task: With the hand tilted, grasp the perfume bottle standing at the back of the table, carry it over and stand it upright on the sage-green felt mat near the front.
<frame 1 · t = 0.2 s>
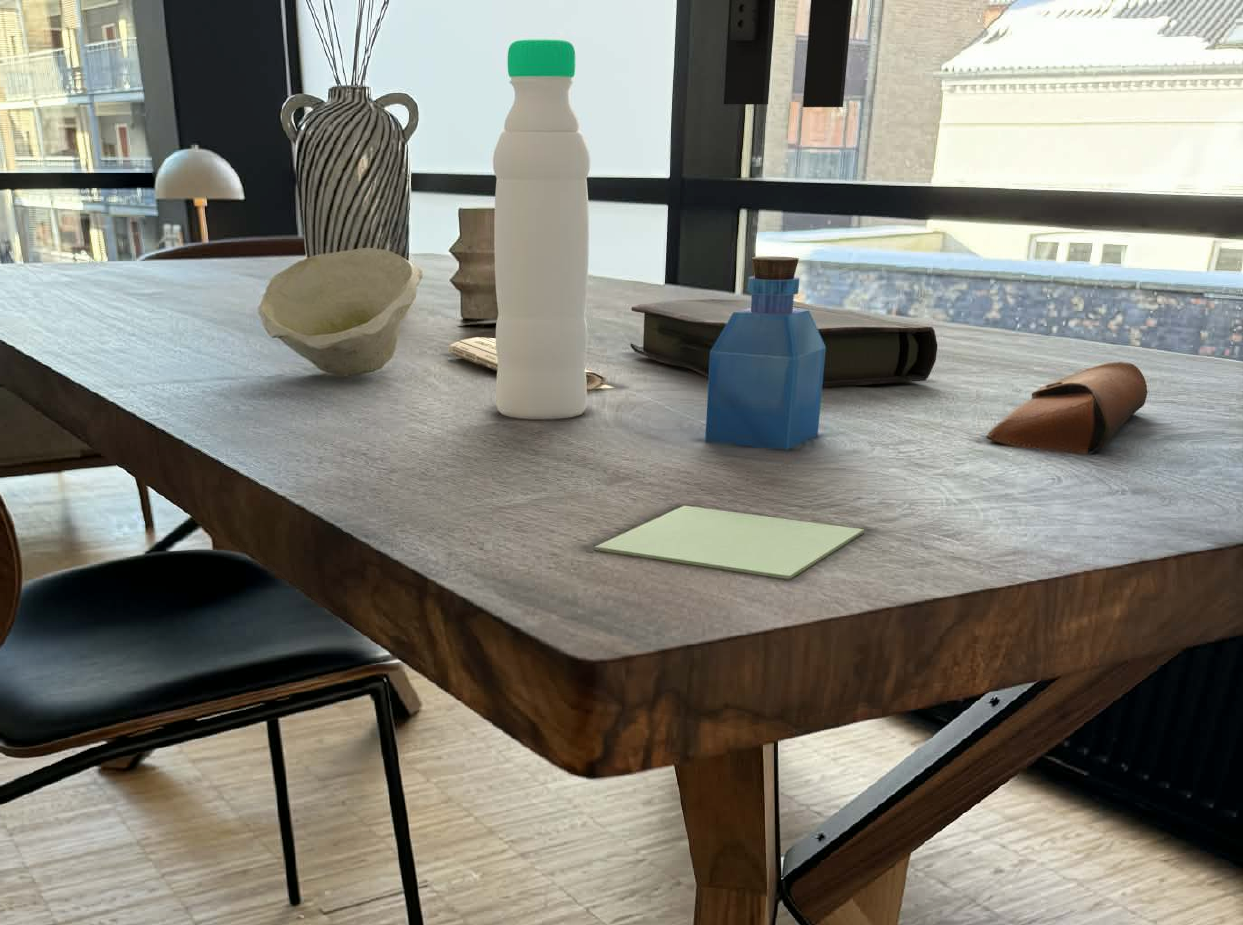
hand: (786, 107, 95), 21 cm above the table, tool pointing down, fingers open, 13 cm apart
sunglasses case: (1066, 435, 107), on the table
water bottle: (541, 417, 112), on the table
perfume bottle: (761, 444, 103), on the table
bowl: (345, 376, 130), on the table
newspaper: (527, 375, 131), on the table
diary: (769, 372, 134), on the table
mat: (731, 545, 77), on the table
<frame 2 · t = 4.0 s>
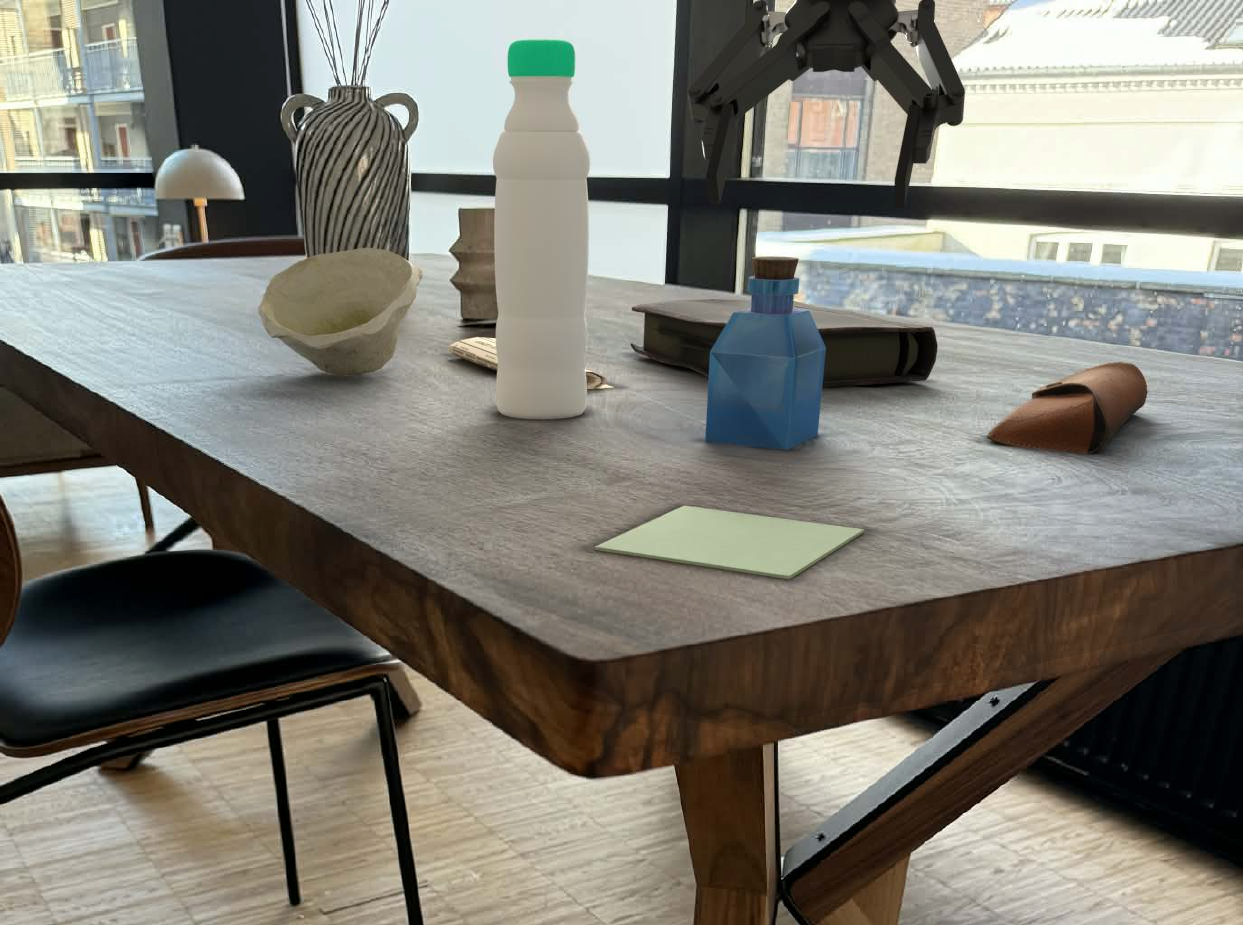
hand: (804, 192, 104), 16 cm above the table, tool tilted 45°, fingers open, 13 cm apart
nothing on the table moved.
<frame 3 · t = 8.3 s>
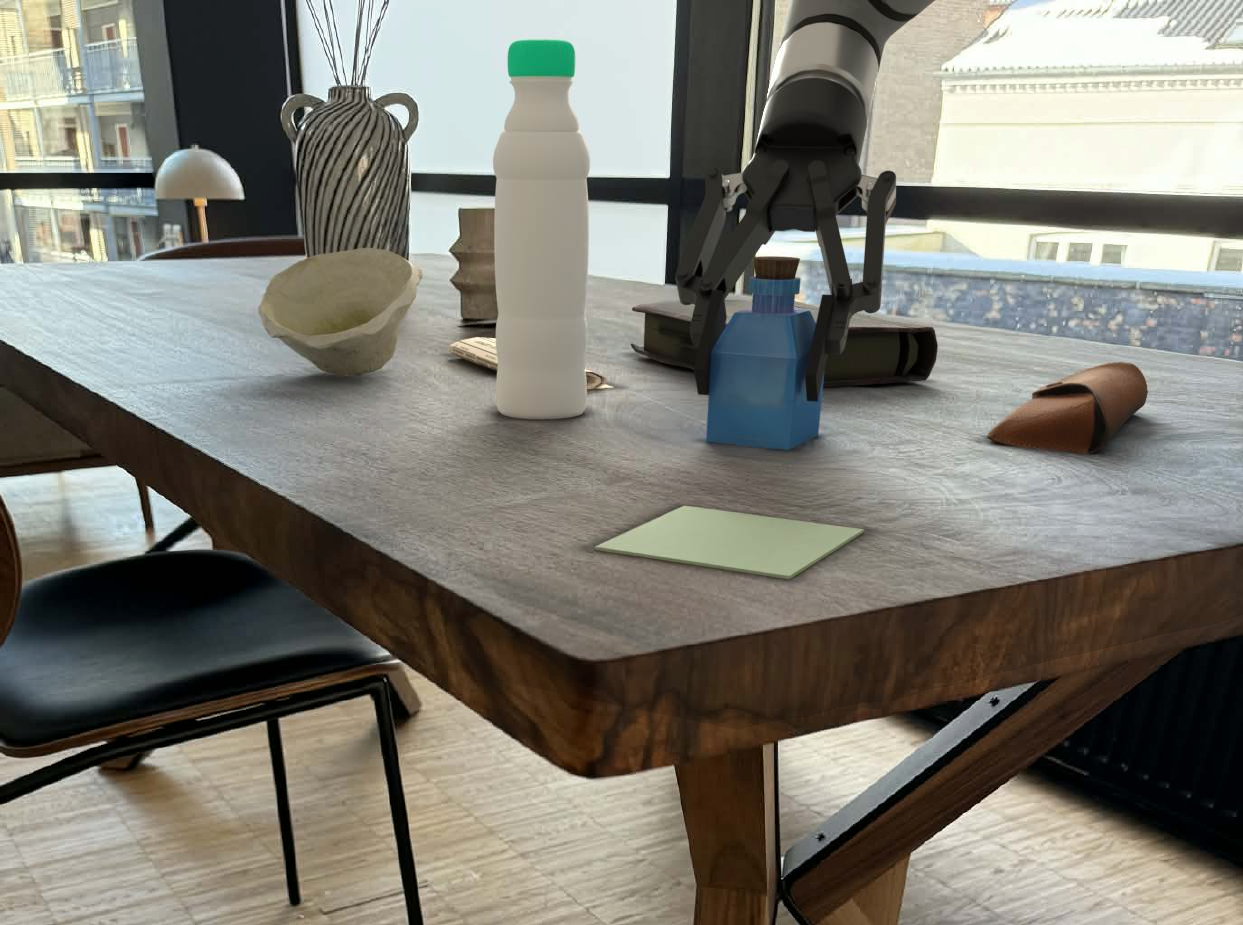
hand: (755, 385, 98), 4 cm above the table, tool tilted 45°, fingers closed on perfume bottle, 7 cm apart
perfume bottle: (762, 444, 103), on the table, touching gripper
everything else where it was.
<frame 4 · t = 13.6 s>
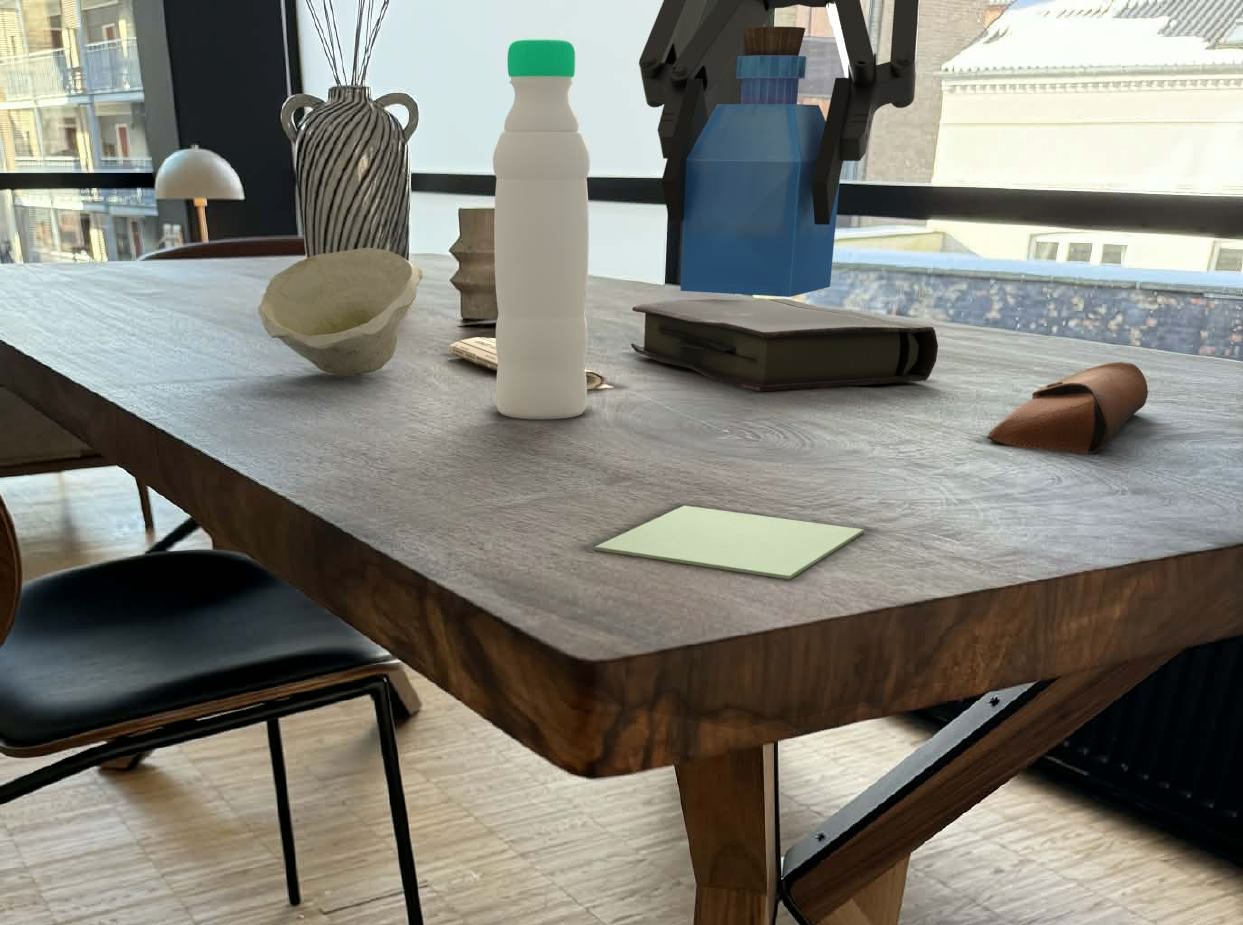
hand: (745, 202, 73), 16 cm above the table, tool tilted 45°, fingers closed on perfume bottle, 7 cm apart
perfume bottle: (755, 293, 78), point 12 cm above the table, touching gripper
everything else where it was.
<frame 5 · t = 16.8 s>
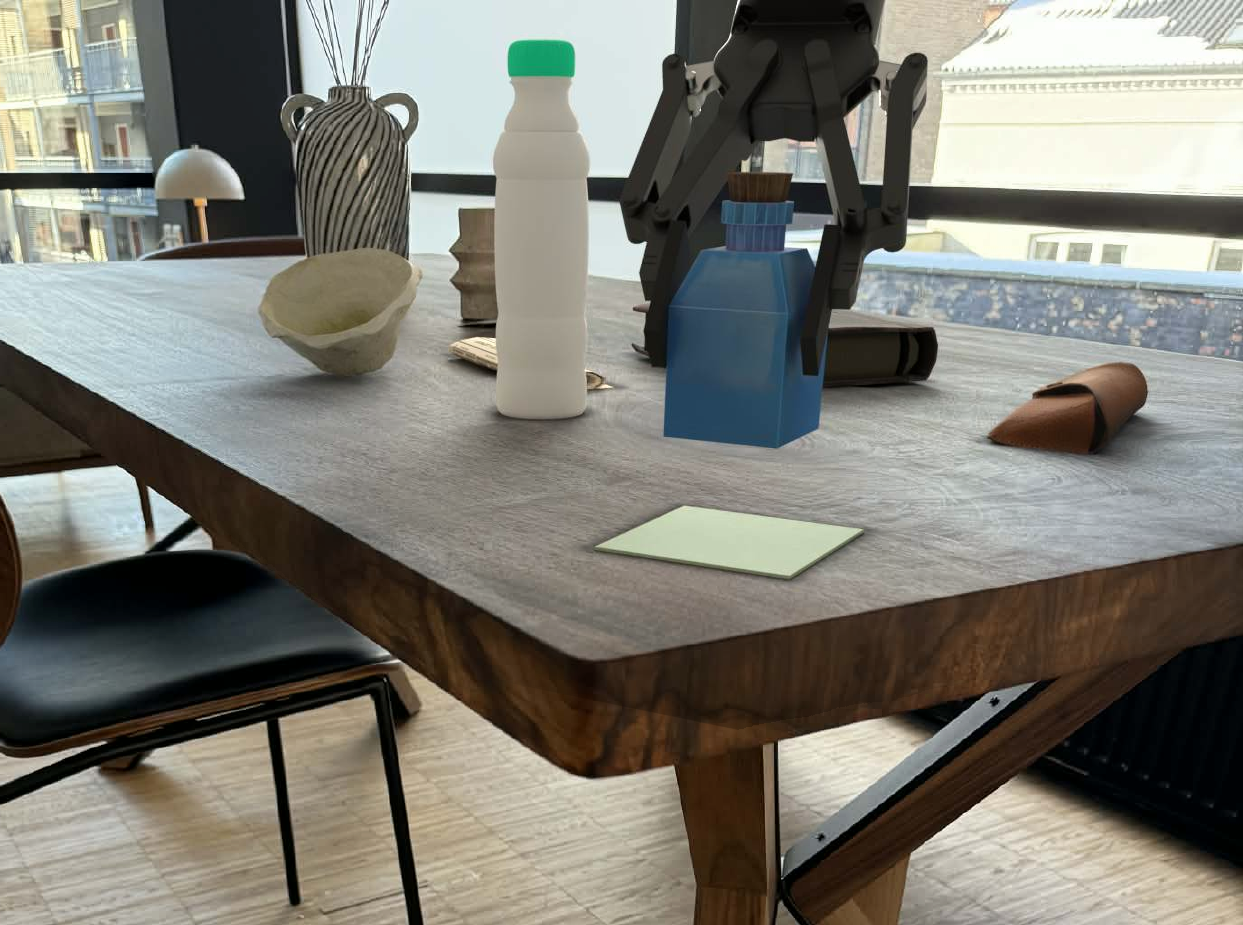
hand: (731, 353, 70), 10 cm above the table, tool tilted 45°, fingers closed on perfume bottle, 7 cm apart
perfume bottle: (741, 436, 75), point 6 cm above the table, touching gripper
everything else where it was.
when the fingers open (5 cm above the table, at t = 19.1 s): perfume bottle stays where it is, resting on mat.
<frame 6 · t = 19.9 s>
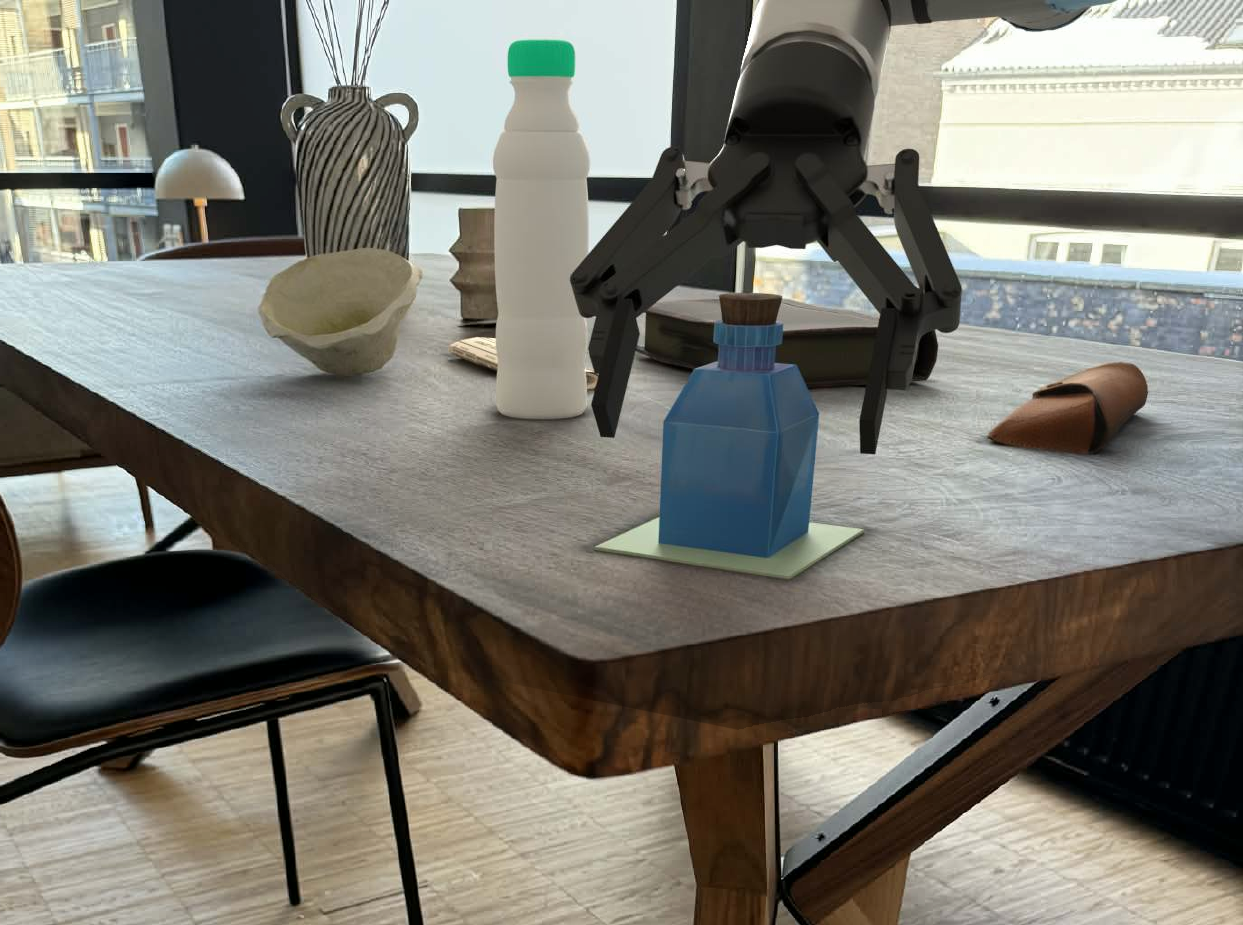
hand: (731, 430, 72), 6 cm above the table, tool tilted 45°, fingers open, 13 cm apart
perfume bottle: (734, 541, 77), resting on mat
everything else where it was.
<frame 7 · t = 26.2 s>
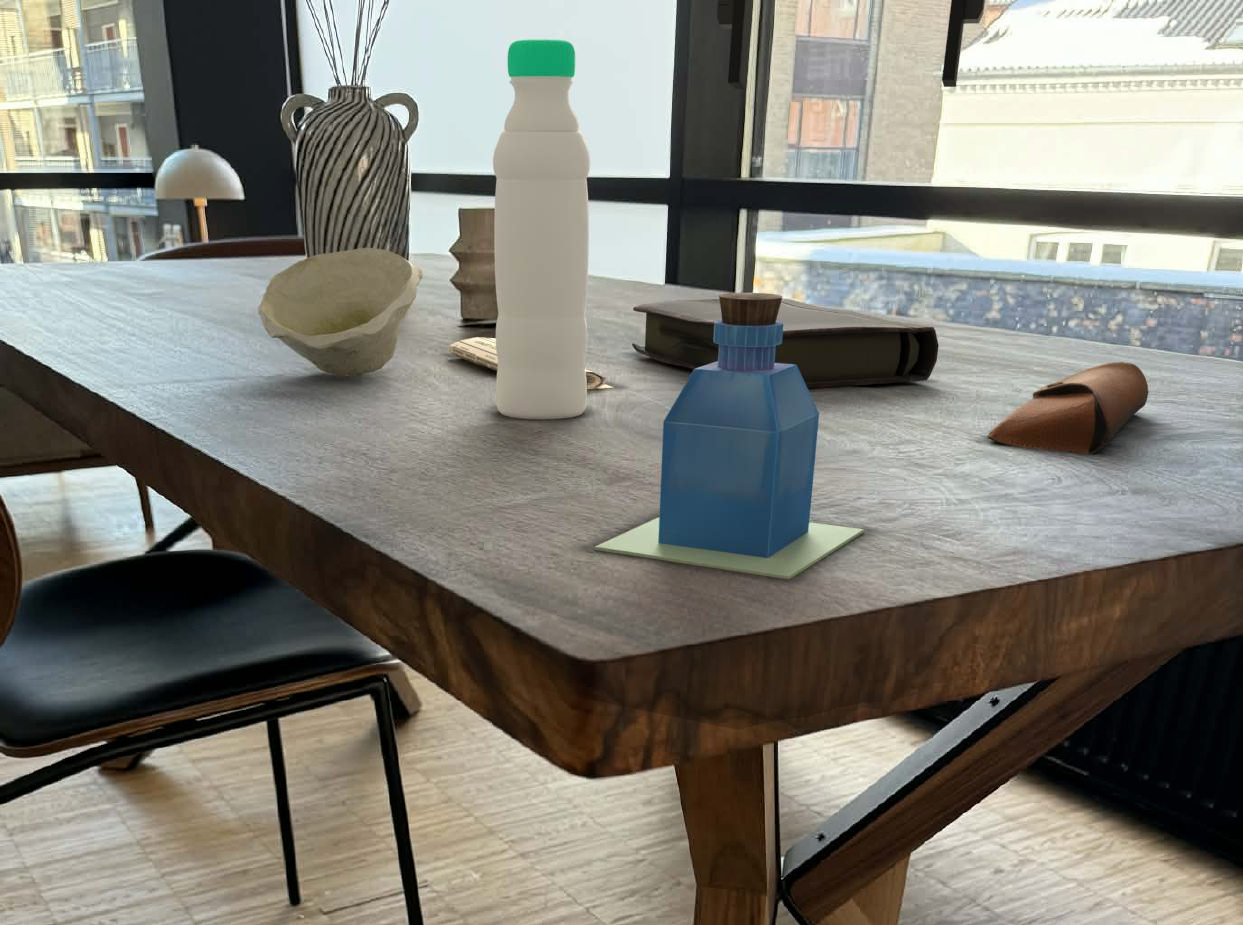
hand: (841, 85, 93), 22 cm above the table, tool pointing down, fingers open, 13 cm apart
nothing on the table moved.
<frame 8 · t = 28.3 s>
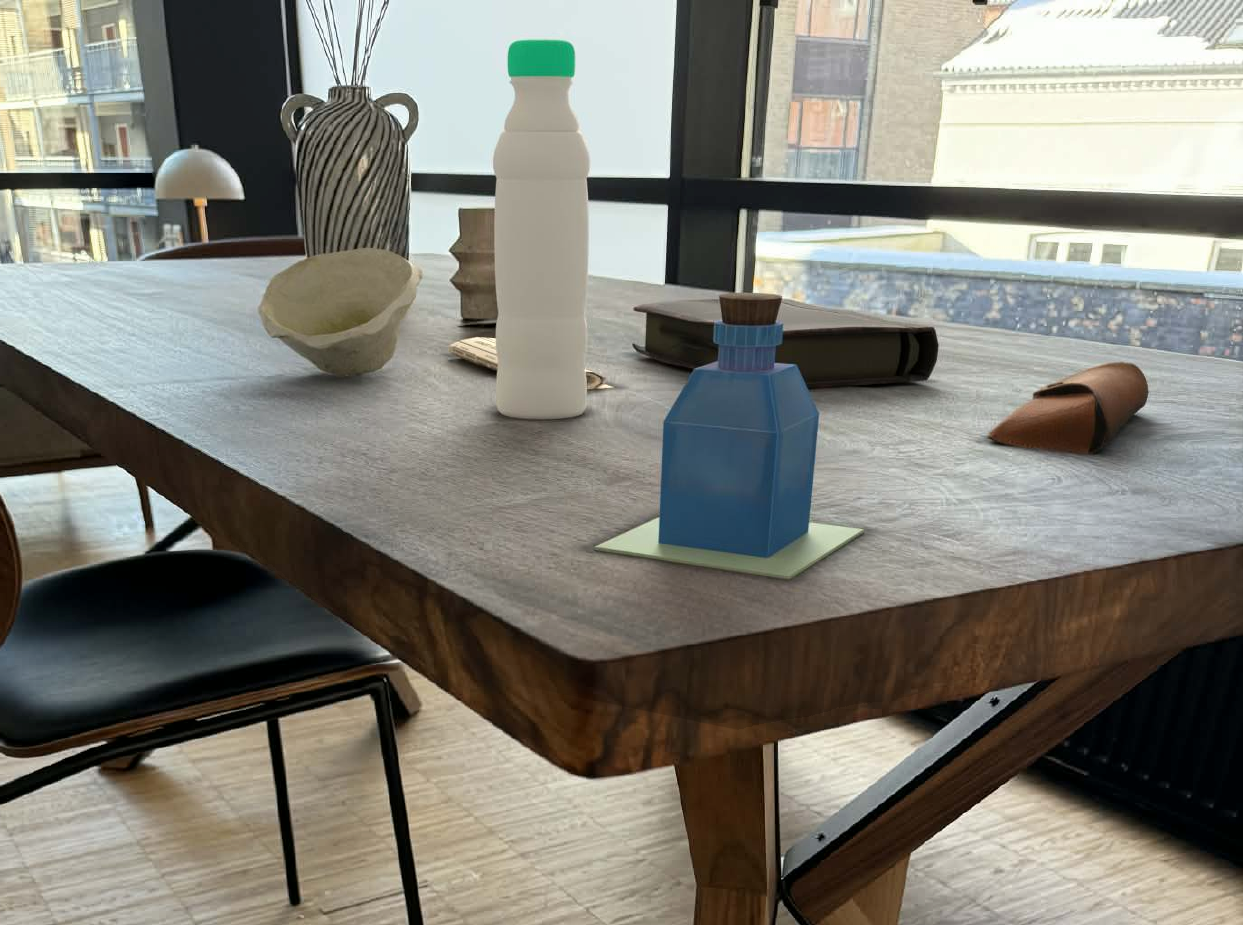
hand: (872, 6, 93), 27 cm above the table, tool pointing down, fingers open, 13 cm apart
nothing on the table moved.
at the end: perfume bottle inside the target area on the mat (0.1 cm from its centre), point 0.2 cm above the mat's base; perfume bottle tilted 0°; the gripper is holding nothing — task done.
